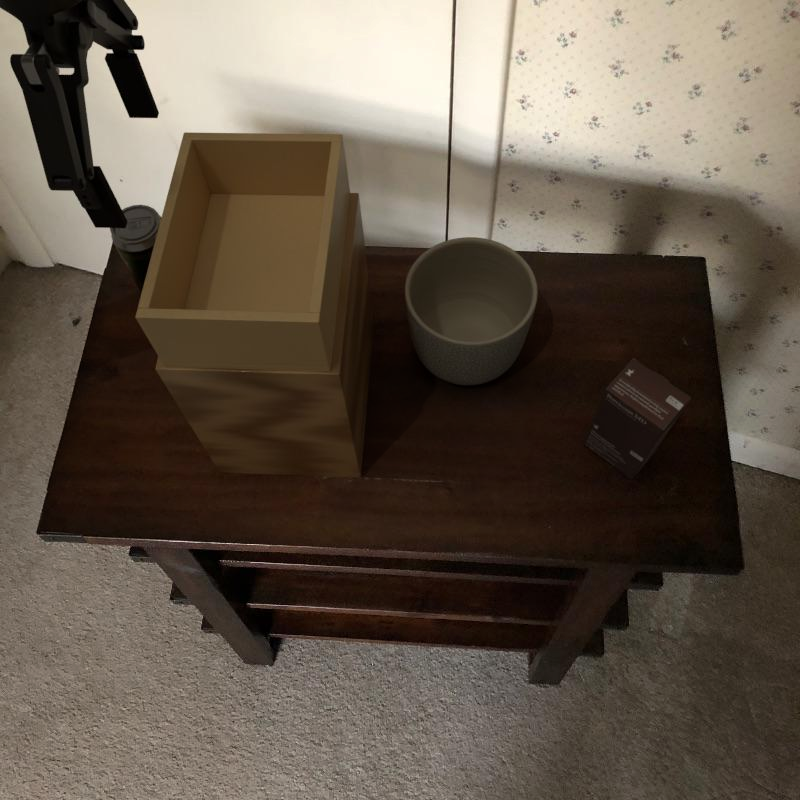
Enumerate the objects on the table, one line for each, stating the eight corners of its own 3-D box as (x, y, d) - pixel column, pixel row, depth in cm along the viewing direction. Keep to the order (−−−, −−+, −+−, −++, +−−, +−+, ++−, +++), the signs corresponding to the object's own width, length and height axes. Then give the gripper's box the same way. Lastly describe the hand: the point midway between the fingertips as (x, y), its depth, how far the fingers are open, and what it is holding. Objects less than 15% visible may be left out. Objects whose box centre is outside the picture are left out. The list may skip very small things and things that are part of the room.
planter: (519, 408, 77) (532, 351, 68) (399, 393, 79) (395, 336, 69) (529, 308, 83) (542, 243, 74) (416, 296, 84) (415, 230, 75)
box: (579, 446, 75) (603, 387, 65) (606, 416, 77) (635, 353, 66) (630, 485, 73) (664, 430, 62) (657, 453, 75) (695, 394, 64)
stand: (219, 472, 75) (154, 369, 58) (246, 320, 84) (197, 189, 66) (360, 478, 74) (339, 374, 57) (373, 324, 83) (358, 192, 65)
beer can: (192, 272, 87) (159, 198, 77) (198, 310, 85) (164, 238, 74) (145, 282, 87) (105, 209, 76) (149, 320, 84) (109, 250, 74)
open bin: (164, 367, 58) (134, 317, 52) (205, 191, 66) (183, 131, 60) (330, 372, 57) (318, 322, 51) (350, 194, 65) (342, 133, 59)
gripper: (22, 56, 45) (139, 277, 64) (118, -167, 57) (193, 75, 76) (-101, 54, 46) (52, 275, 64) (20, -166, 57) (119, 74, 76)
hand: (128, 167), depth 70 cm, fingers open, 13 cm apart
